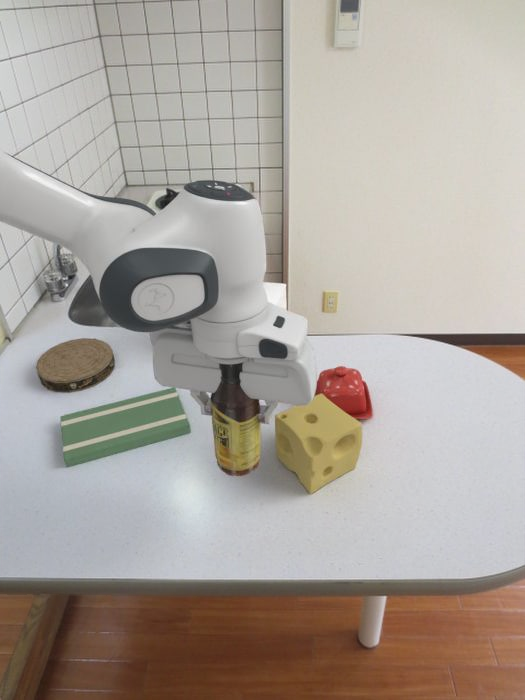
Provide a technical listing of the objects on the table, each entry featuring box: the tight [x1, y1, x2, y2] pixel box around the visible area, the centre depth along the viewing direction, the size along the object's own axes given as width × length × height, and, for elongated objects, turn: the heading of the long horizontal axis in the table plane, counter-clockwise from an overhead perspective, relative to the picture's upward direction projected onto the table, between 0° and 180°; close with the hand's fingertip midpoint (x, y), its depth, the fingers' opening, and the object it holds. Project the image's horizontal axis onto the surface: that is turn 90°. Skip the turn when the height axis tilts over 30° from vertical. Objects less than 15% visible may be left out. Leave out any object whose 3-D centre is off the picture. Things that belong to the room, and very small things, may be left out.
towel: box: [60, 387, 192, 468], centre depth 97 cm, size 22×12×2 cm, turn 111°
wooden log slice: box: [35, 337, 116, 394], centre depth 113 cm, size 16×16×3 cm
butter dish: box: [314, 365, 374, 420], centre depth 99 cm, size 12×12×8 cm
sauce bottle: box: [210, 362, 261, 477], centre depth 67 cm, size 7×6×20 cm
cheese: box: [274, 394, 363, 495], centre depth 86 cm, size 10×11×10 cm
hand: (237, 416), depth 68 cm, fingers closed on sauce bottle, 6 cm apart
